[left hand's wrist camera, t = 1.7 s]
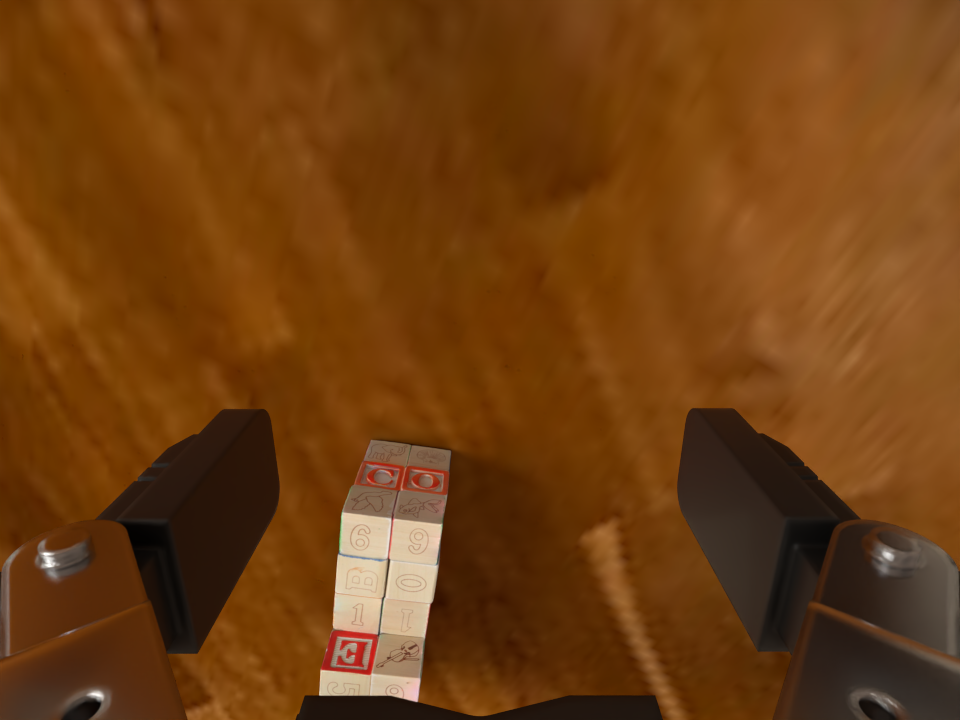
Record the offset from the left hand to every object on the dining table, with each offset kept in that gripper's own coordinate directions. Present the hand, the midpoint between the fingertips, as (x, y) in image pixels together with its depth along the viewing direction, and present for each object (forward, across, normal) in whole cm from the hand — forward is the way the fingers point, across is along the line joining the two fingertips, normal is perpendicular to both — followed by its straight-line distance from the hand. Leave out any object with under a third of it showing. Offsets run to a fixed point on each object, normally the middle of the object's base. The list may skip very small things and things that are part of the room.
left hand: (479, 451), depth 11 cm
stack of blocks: (+28, -7, -26) cm, 39 cm away
